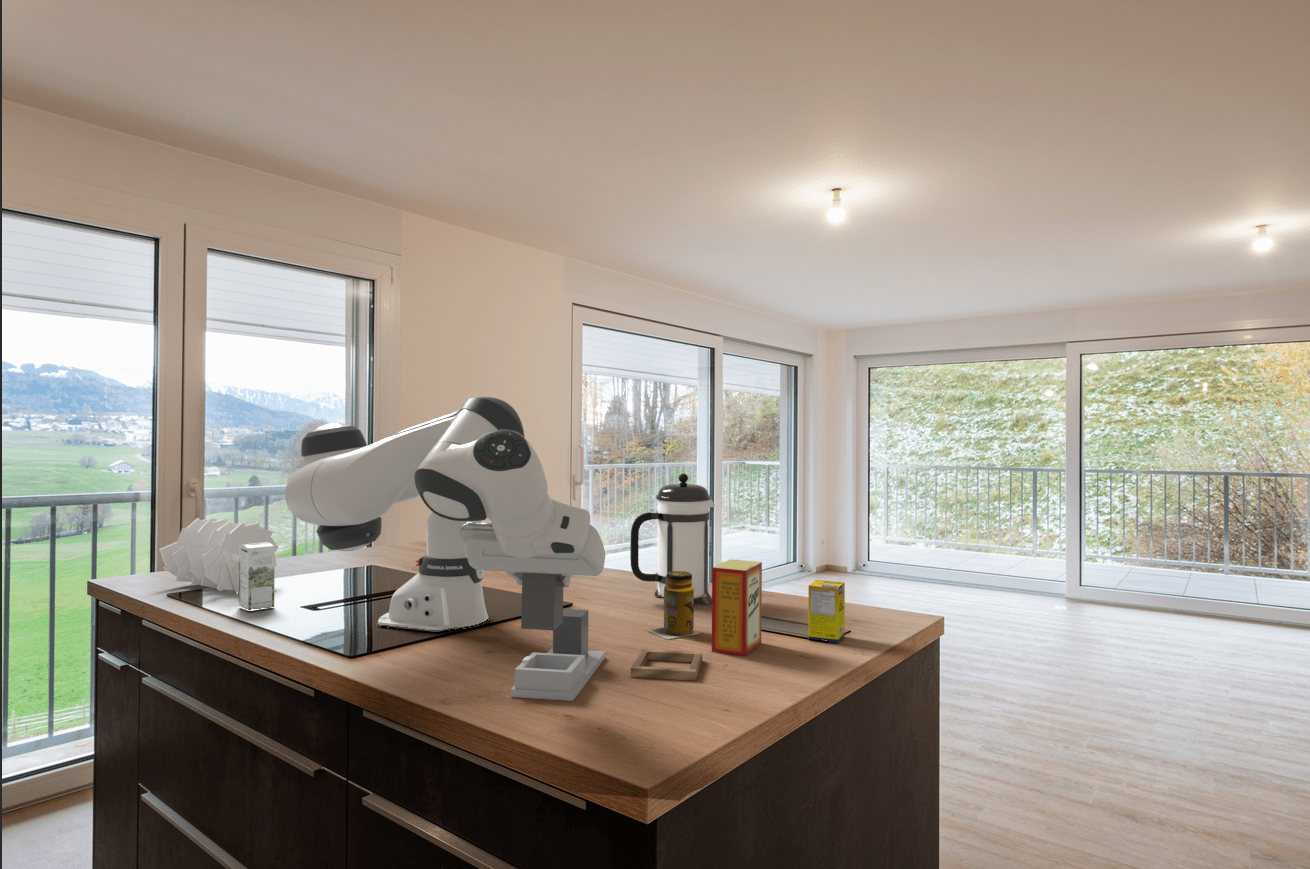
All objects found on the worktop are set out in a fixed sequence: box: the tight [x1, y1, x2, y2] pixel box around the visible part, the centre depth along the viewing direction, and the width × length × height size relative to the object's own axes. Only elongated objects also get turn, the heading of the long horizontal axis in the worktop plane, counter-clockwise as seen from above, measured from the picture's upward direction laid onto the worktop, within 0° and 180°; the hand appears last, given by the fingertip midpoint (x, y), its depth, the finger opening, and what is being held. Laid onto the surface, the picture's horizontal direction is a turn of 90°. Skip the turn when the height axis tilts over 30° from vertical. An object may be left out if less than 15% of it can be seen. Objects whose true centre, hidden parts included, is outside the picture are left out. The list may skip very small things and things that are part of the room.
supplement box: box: [807, 579, 846, 644], centre depth 158 cm, size 6×6×11 cm
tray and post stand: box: [510, 608, 606, 702], centre depth 135 cm, size 22×10×9 cm, turn 171°
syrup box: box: [238, 542, 276, 610], centre depth 181 cm, size 6×6×14 cm
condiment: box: [647, 571, 702, 640], centre depth 162 cm, size 7×8×12 cm
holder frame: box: [630, 648, 703, 682], centre depth 139 cm, size 11×11×2 cm
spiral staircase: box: [158, 516, 280, 593], centre depth 201 cm, size 18×18×25 cm
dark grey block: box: [520, 572, 564, 632], centre depth 122 cm, size 5×5×12 cm
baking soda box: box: [711, 559, 763, 657], centre depth 152 cm, size 10×6×16 cm
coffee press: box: [629, 473, 716, 605], centre depth 189 cm, size 17×16×30 cm
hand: (544, 582), depth 123 cm, fingers closed on dark grey block, 5 cm apart
